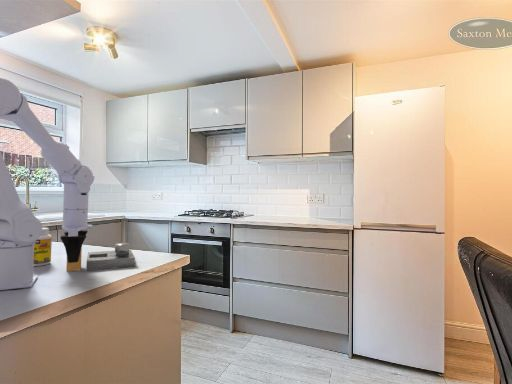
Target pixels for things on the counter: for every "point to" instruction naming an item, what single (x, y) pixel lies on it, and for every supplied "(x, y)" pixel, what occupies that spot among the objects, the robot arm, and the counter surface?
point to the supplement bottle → (43, 248)
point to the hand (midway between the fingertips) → (74, 259)
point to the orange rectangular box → (74, 264)
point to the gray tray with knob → (111, 258)
